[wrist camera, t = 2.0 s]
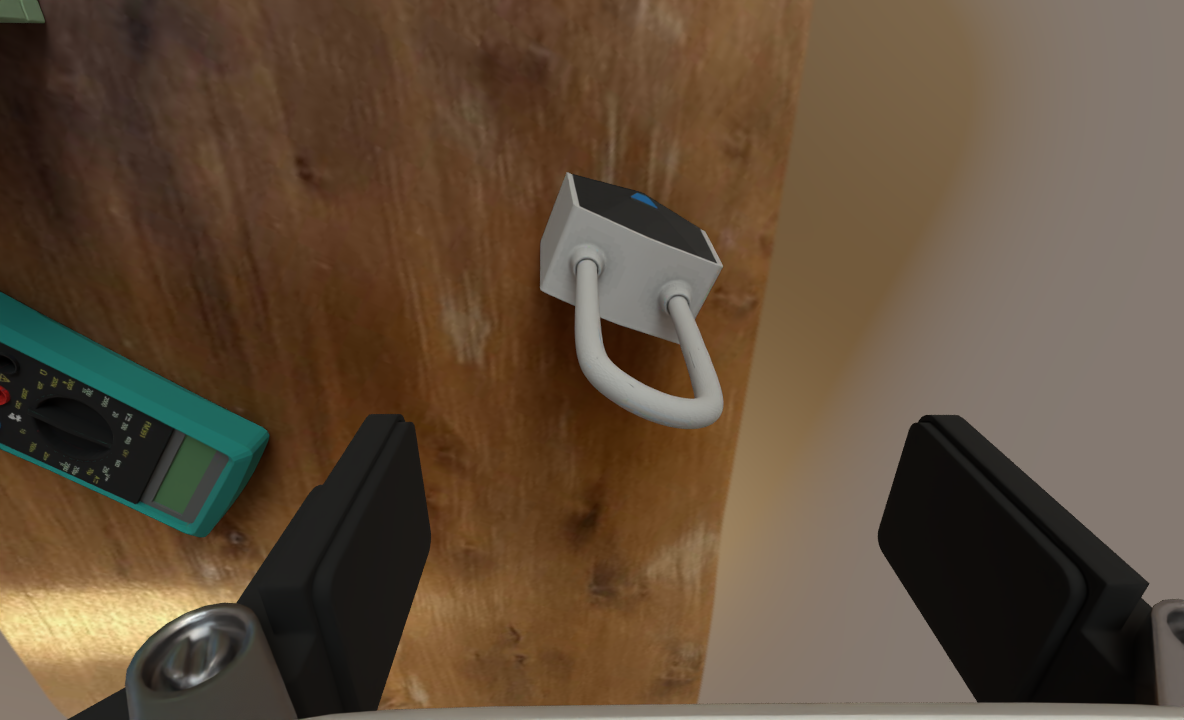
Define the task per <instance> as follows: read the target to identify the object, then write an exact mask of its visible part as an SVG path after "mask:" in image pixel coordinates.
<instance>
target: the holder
mask: <svg viewBox="0 0 1184 720" xmlns="http://www.w3.org/2000/svg"><path fill="white" fill-rule="evenodd" d="M0 23H45V19H44V17H43V14H42V11H41V9H40V6H39V3H38V0H0Z"/></svg>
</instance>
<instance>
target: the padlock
mask: <svg viewBox="0 0 1184 720" xmlns="http://www.w3.org/2000/svg"><path fill="white" fill-rule="evenodd" d="M722 268H723V265H722V263H721V261H720V259H719V257H718V255H717V253H716V251H715V250H714V248H713V246H712V244H711V242H710V240H709V238H708V236H707V234H706V232H705V231H704V230H701V229H700V228H698V227H697V226H695V225H694V224H692V223H690V222H689V221H687V220H686V219H684V218H682V217H681V216H679V215H678V214H676V213H674V212H673V211H671V210H669V209H668V208H666V207H665V206H663V205H661V204H660V203H658V202H657V201H655V200H653V199H652V198H650V197H649V196H647V195H645V194H644V193H641V192H639V191H635V190H631V189H627V188H623V187H620V186H616V185H612V184H608V183H604V182H601V181H597V180H593V179H589V178H585V177H581V176H578V175H574V174H570V173H568V172H567V173H566V176H565V178H564V181H563V184H562V186H561V189H560V192H559V194H558V197H557V199H556V202H555V205H554V207H553V210H552V213H551V215H550V218H549V221H548V223H547V226H546V229H545V231H544V234H543V237H542V239H541V244H540V289H541V290H542V291H543V292H545V293H547V294H549V295H551V296H554V297H556V298H558V299H560V300H563V301H565V302H567V303H569V304H572V305H574V306H575V343H576V352H577V357H578V361H579V364H580V367H581V369H582V371H583V373H584V375H585V376H586V378H587V379H588V380H589V382H590V383H591V384H592V385H593V386H594V387H595V388H596V389H597V390H598V391H599V392H601V393H602V394H603V395H604V396H606V397H607V398H608V399H610V400H611V401H613V402H614V403H616V404H617V405H619V406H620V407H622V408H624V409H626V410H627V411H629V412H631V413H633V414H635V415H637V416H640V417H642V418H644V419H647V420H649V421H652V422H655V423H658V424H661V425H665V426H669V427H674V428H681V429H697V428H703V427H706V426H709V425H711V424H713V423H714V422H715V421H716V420H717V419H718V418H719V417H720V415H721V413H722V410H723V395H722V391H721V387H720V384H719V381H718V377H717V375H716V372H715V369H714V367H713V364H712V362H711V359H710V356H709V354H708V351H707V349H706V346H705V344H704V342H703V339H702V337H701V334H700V332H699V329H698V327H697V325H696V322H695V318H696V316H697V314H698V312H699V310H700V309H701V307H702V305H703V303H704V301H705V299H706V297H707V296H708V294H709V292H710V290H711V288H712V286H713V284H714V282H715V281H716V279H717V277H718V275H719V273H720V271H721V269H722ZM600 317H601V318H603V319H606V320H608V321H610V322H613V323H616V324H618V325H621V326H624V327H628V328H631V329H634V330H637V331H640V332H643V333H646V334H649V335H653V336H656V337H659V338H662V339H665V340H668V341H671V342H675V343H678V344H680V346H681V349H682V352H683V355H684V359H685V362H686V365H687V369H688V372H689V375H690V379H691V383H692V387H693V391H694V395H695V399H687V398H680V397H676V396H672V395H668V394H666V393H663V392H660V391H658V390H655V389H653V388H651V387H648V386H646V385H644V384H643V383H641V382H639V381H637V380H635V379H634V378H632V377H631V376H629V375H627V374H626V373H625V372H623V371H622V370H621V369H619V368H618V367H617V366H616V365H615V364H614V363H613V362H612V361H611V360H610V359H609V358H608V356H607V354H606V352H605V349H604V345H603V340H602V332H601V323H600Z"/></svg>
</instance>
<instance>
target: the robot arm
mask: <svg viewBox="0 0 1184 720" xmlns="http://www.w3.org/2000/svg"><path fill="white" fill-rule="evenodd" d="M878 542H879V546H880V549H881V550H882V552H883V554H884V556H885V557H886V559H887V560H888V562H889V564H890V565H891V567H892V568H893V570H894V571H895V573H896V575H897V576H898V578H899V579H900V581H901V582H902V584H903V586H904V587H905V589H906V590H907V592H908V594H909V595H910V597H911V598H912V600H913V601H914V603H915V605H916V606H917V608H918V609H919V611H920V612H921V614H922V616H923V617H924V619H925V620H926V622H927V623H928V625H929V627H930V628H931V630H932V631H933V633H934V634H935V636H936V638H937V639H938V641H939V642H940V644H941V645H942V647H943V649H944V650H945V652H946V653H947V655H948V657H949V658H950V659H951V661H952V663H953V664H954V666H955V668H956V669H957V671H958V672H959V674H960V675H961V677H962V678H963V680H964V682H965V683H966V685H967V687H968V688H969V690H970V691H971V693H972V694H973V696H974V697H975V699H976V700H977V702H978V703H767V704H766V703H765V704H764V703H761V704H760V703H757V704H643V705H565V706H493V707H460V708H427V709H394V710H378V711H377V709H378V705H379V702H380V699H381V696H382V693H383V690H384V687H385V684H386V681H387V678H388V675H389V672H390V669H391V666H392V663H393V660H394V657H395V654H396V651H397V648H398V645H399V642H400V639H401V636H402V632H403V629H404V626H405V623H406V620H407V617H408V614H409V611H410V608H411V605H412V602H413V599H414V596H415V593H416V590H417V587H418V584H419V581H420V578H421V575H422V572H423V569H424V566H425V563H426V559H427V556H428V553H429V550H430V543H431V530H430V524H429V517H428V511H427V504H426V497H425V491H424V484H423V478H422V471H421V465H420V458H419V451H418V445H417V438H416V432H415V427H414V424H413V423H412V422H405V420H404V417H403V416H402V415H401V414H371V415H368V417H367V418H366V419H365V421H364V422H363V424H362V425H361V427H360V428H359V430H358V432H357V433H356V435H355V436H354V438H353V439H352V441H351V442H350V444H349V445H348V447H347V449H346V450H345V452H344V453H343V455H342V456H341V458H340V459H339V461H338V463H337V464H336V466H335V467H334V469H333V470H332V472H331V473H330V475H329V476H328V478H327V480H326V481H325V483H324V484H323V485H319V486H316V487H315V488H314V489H313V490H312V491H311V492H310V493H309V495H308V496H307V498H306V499H305V501H304V502H303V504H302V505H301V507H300V508H299V510H298V511H297V513H296V514H295V516H294V517H293V519H292V520H291V522H290V523H289V525H288V526H287V528H286V529H285V531H284V532H283V534H282V535H281V537H280V538H279V540H278V541H277V543H276V544H275V546H274V547H273V549H272V550H271V552H270V553H269V555H268V556H267V558H266V559H265V561H264V562H263V564H262V565H261V567H260V568H259V570H258V571H257V573H256V574H255V576H254V577H253V579H252V580H251V582H250V583H249V585H248V586H247V588H246V589H245V591H244V592H243V594H242V595H241V597H240V598H239V600H238V601H237V603H219V604H213V605H207V606H204V607H201V608H198V609H195V610H193V611H190V612H187V613H185V614H183V615H181V616H180V617H178V618H176V619H174V620H173V621H171V622H169V623H167V624H166V625H165V626H163V627H162V628H161V629H160V630H158V631H157V632H156V633H154V634H153V635H152V636H151V637H149V638H148V640H147V641H146V642H145V643H144V644H143V645H142V646H141V648H140V649H139V650H138V651H137V652H136V653H135V655H134V657H133V659H132V661H131V663H130V665H129V667H128V668H127V673H126V681H125V688H123V689H121V690H120V691H118V692H116V693H114V694H112V695H111V696H109V697H107V698H105V699H103V700H102V701H100V702H98V703H96V704H94V705H93V706H91V707H89V708H87V709H86V710H84V711H82V712H80V713H78V714H77V715H75V716H73V717H71V718H69V719H68V720H1184V600H1181V599H1170V600H1162V601H1160V602H1159V603H1157V604H1155V605H1154V606H1153V608H1152V607H1151V606H1150V605H1149V604H1147V603H1146V602H1145V601H1144V600H1143V599H1142V598H1141V597H1142V595H1143V593H1144V592H1145V590H1146V589H1147V587H1148V585H1149V583H1148V582H1147V581H1146V580H1145V579H1144V578H1143V577H1141V576H1140V575H1139V574H1138V573H1137V572H1136V571H1135V570H1134V569H1132V568H1131V567H1130V566H1129V565H1128V564H1127V563H1126V562H1125V561H1123V560H1122V559H1121V558H1120V557H1119V556H1118V555H1117V554H1116V553H1114V552H1113V551H1112V550H1111V549H1110V548H1109V547H1108V546H1107V545H1105V544H1104V543H1103V542H1102V541H1101V540H1100V539H1099V538H1098V537H1096V536H1095V535H1094V534H1093V533H1092V532H1091V531H1090V530H1089V529H1087V528H1086V527H1085V526H1084V525H1083V524H1082V523H1081V522H1079V521H1078V520H1077V519H1076V518H1075V517H1074V516H1073V515H1072V514H1070V513H1069V512H1068V511H1067V510H1066V509H1065V508H1064V507H1063V506H1061V505H1060V504H1059V503H1058V502H1057V501H1056V500H1055V499H1054V498H1052V497H1051V496H1050V495H1049V494H1048V493H1047V492H1046V491H1045V490H1043V489H1042V488H1041V487H1040V486H1039V485H1038V484H1037V483H1036V482H1034V481H1033V480H1032V479H1031V478H1030V477H1029V476H1028V475H1026V474H1025V473H1024V472H1023V471H1022V470H1021V469H1020V468H1019V467H1018V466H1016V465H1015V464H1014V463H1013V462H1012V461H1011V460H1010V459H1008V458H1007V457H1006V456H1005V455H1004V454H1003V453H1002V452H1001V451H999V450H998V449H997V448H996V447H995V446H994V445H993V444H992V443H990V442H989V441H988V440H987V439H986V438H985V437H984V436H982V435H981V434H980V433H979V432H978V431H977V430H976V429H975V428H973V427H972V426H971V425H970V424H969V423H968V422H967V421H966V420H964V419H963V418H962V417H960V416H958V415H925V416H923V417H921V419H920V420H919V422H918V423H914V424H912V425H911V427H910V429H909V432H908V435H907V438H906V441H905V445H904V448H903V451H902V455H901V458H900V461H899V465H898V468H897V471H896V474H895V478H894V481H893V484H892V487H891V491H890V494H889V497H888V500H887V504H886V507H885V510H884V514H883V517H882V520H881V523H880V527H879V530H878Z"/></svg>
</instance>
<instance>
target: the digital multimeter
mask: <svg viewBox="0 0 1184 720" xmlns="http://www.w3.org/2000/svg"><path fill="white" fill-rule="evenodd" d="M269 436H270V435H269V433H268V431H267V430H265V429H264V428H263V427H261V426H259V425H257V424H255V423H253V422H251V421H249V420H247V419H245V418H243V417H241V416H239V415H237V414H235V413H233V412H231V411H229V410H227V409H225V408H223V407H221V406H219V405H217V404H215V403H213V402H211V401H209V400H207V399H205V398H203V397H201V396H199V395H197V394H195V393H193V392H191V391H189V390H187V389H185V388H183V387H181V386H179V385H177V384H175V383H173V382H172V381H170V380H168V379H166V378H164V377H162V376H160V375H158V374H156V373H154V372H152V371H150V370H148V369H146V368H144V367H142V366H141V365H139V364H137V363H135V362H133V361H131V360H129V359H127V358H125V357H123V356H121V355H119V354H117V353H116V352H114V351H112V350H110V349H108V348H106V347H104V346H102V345H100V344H98V343H96V342H95V341H93V340H91V339H89V338H87V337H85V336H83V335H81V334H79V333H77V332H75V331H74V330H72V329H70V328H68V327H66V326H64V325H62V324H60V323H58V322H56V321H55V320H53V319H51V318H49V317H47V316H45V315H43V314H41V313H39V312H38V311H36V310H34V309H32V308H30V307H28V306H26V305H25V304H23V303H21V302H19V301H17V300H15V299H13V298H12V297H10V296H8V295H6V294H4V293H2V292H0V449H2V450H4V451H6V452H8V453H11V454H13V455H15V456H18V457H20V458H22V459H25V460H27V461H29V462H31V463H34V464H36V465H38V466H41V467H43V468H45V469H48V470H50V471H52V472H54V473H56V474H59V475H61V476H63V477H65V478H67V479H70V480H72V481H74V482H76V483H78V484H80V485H83V486H85V487H87V488H89V489H91V490H94V491H96V492H98V493H100V494H102V495H105V496H107V497H109V498H111V499H113V500H115V501H118V502H120V503H122V504H124V505H126V506H128V507H130V508H132V509H134V510H137V511H139V512H141V513H143V514H145V515H147V516H149V517H151V518H154V519H156V520H158V521H160V522H162V523H164V524H166V525H168V526H170V527H173V528H175V529H177V530H179V531H181V532H183V533H186V534H189V535H193V536H196V537H206V536H207V535H208V534H209V533H210V532H211V530H212V529H213V528H214V527H215V526H216V524H217V523H218V522H219V521H220V520H221V518H222V517H223V516H224V515H225V514H226V512H227V511H228V510H229V508H230V507H231V506H232V504H233V503H234V502H235V500H236V499H237V498H238V496H239V495H240V493H241V492H242V490H243V489H244V488H245V486H246V485H247V483H248V481H249V479H250V478H251V476H252V474H253V473H254V471H255V469H256V467H257V465H258V463H259V461H260V459H261V456H262V454H263V452H264V450H265V447H266V445H267V443H268V440H269Z"/></svg>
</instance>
